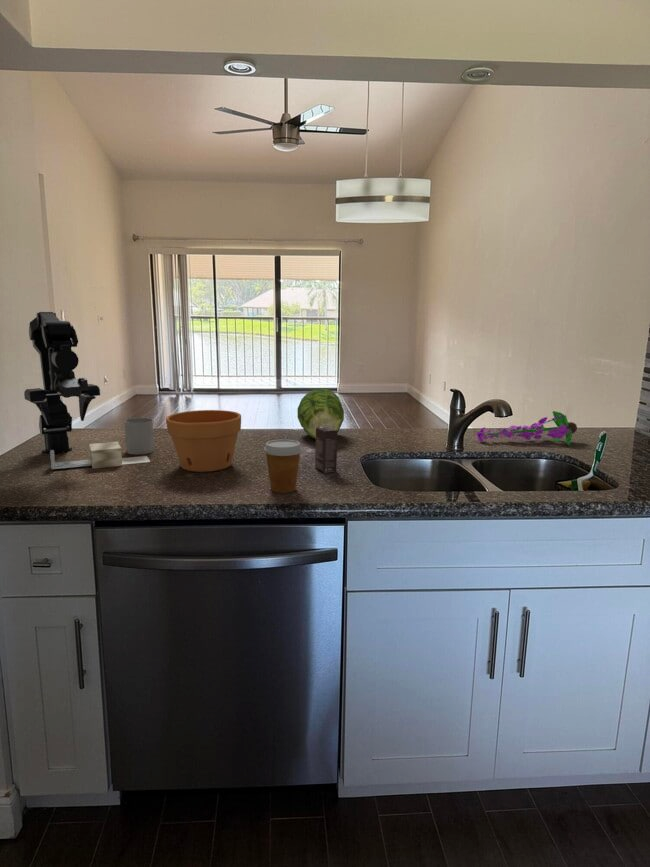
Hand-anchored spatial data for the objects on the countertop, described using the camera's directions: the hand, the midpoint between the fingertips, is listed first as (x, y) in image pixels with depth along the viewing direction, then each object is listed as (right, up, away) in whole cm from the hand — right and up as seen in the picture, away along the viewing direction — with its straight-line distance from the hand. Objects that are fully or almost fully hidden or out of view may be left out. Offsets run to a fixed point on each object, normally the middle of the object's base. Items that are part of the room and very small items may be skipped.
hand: (65, 422), depth 164 cm
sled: (+4, -12, +4) cm, 13 cm away
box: (+73, -14, +3) cm, 75 cm away
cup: (+14, -9, +21) cm, 27 cm away
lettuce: (+72, -5, +42) cm, 83 cm away
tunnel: (+9, -12, +6) cm, 16 cm away
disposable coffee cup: (+62, -17, -15) cm, 67 cm away
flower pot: (+38, -13, +6) cm, 41 cm away
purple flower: (+144, -7, +39) cm, 149 cm away
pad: (+16, -11, +10) cm, 22 cm away
